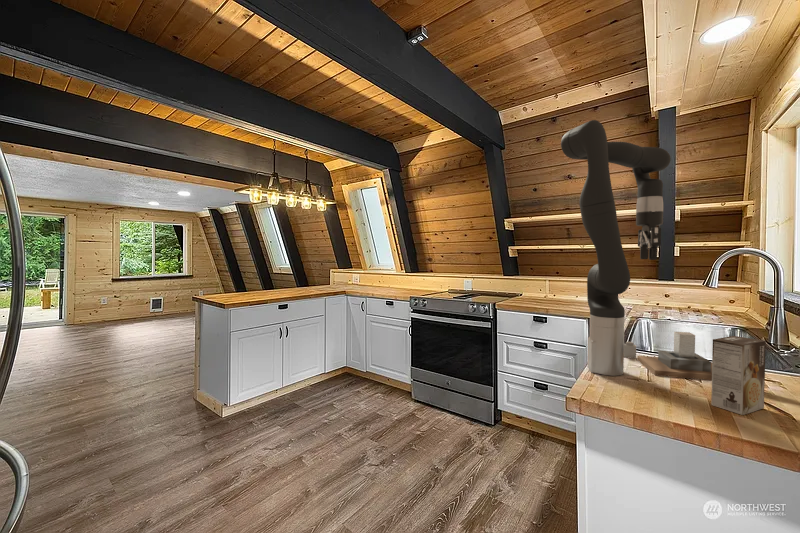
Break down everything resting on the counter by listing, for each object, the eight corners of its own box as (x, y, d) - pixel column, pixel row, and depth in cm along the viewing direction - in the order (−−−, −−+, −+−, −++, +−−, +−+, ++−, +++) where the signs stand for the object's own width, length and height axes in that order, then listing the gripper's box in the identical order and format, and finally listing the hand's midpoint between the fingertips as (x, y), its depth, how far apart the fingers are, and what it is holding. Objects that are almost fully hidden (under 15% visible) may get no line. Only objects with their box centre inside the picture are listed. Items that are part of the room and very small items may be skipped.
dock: (654, 375, 109) (655, 360, 109) (637, 360, 124) (637, 346, 124) (737, 382, 103) (737, 366, 103) (708, 365, 118) (708, 351, 118)
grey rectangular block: (636, 357, 128) (636, 334, 127) (635, 358, 126) (636, 335, 126) (612, 354, 132) (613, 332, 131) (612, 355, 130) (612, 332, 130)
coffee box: (731, 398, 91) (733, 335, 91) (764, 408, 86) (767, 340, 85) (709, 405, 88) (711, 338, 87) (743, 416, 82) (745, 344, 81)
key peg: (678, 366, 112) (679, 334, 112) (673, 362, 116) (674, 331, 116) (694, 367, 111) (695, 335, 111) (688, 364, 115) (689, 332, 114)
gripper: (630, 213, 131) (629, 259, 132) (643, 209, 118) (642, 259, 118) (654, 213, 129) (653, 259, 130) (671, 208, 115) (669, 260, 116)
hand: (648, 259), depth 124 cm, fingers open, 8 cm apart
